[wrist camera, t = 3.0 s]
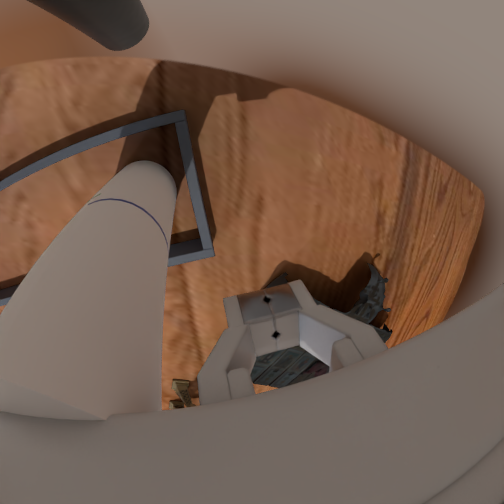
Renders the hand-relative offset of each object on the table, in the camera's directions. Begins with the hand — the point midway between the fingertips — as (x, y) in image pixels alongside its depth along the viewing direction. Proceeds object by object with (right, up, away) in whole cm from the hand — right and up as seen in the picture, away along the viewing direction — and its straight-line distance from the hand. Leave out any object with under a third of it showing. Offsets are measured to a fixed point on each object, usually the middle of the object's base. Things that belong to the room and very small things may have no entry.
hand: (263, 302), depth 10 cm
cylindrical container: (-12, +8, +16) cm, 22 cm away
